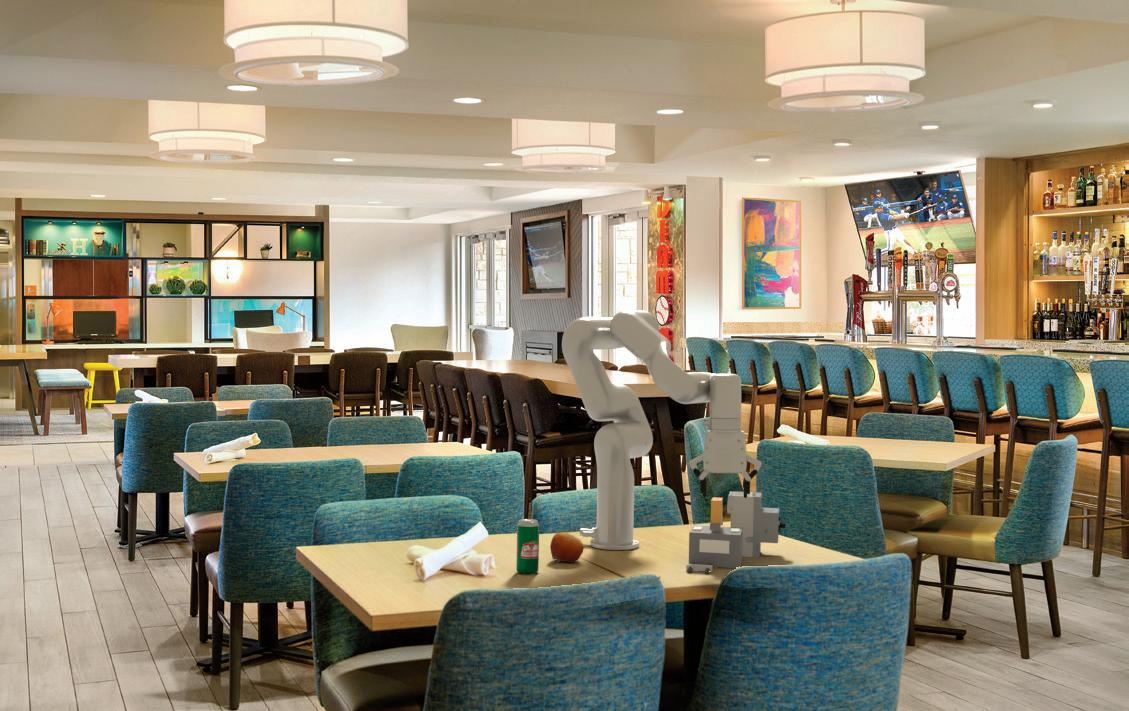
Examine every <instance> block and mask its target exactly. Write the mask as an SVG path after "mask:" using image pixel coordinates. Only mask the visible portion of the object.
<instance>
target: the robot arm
mask: <svg viewBox="0 0 1129 711" xmlns="http://www.w3.org/2000/svg"><path fill="white" fill-rule="evenodd" d="M671 343H672V342H671V341H670V340H669V339H668V338H667V337H665V336H664V335H663V334H662V333H660V323H659V321H658V318H656V316H655V315H654V314H653V313H651V312H649V311H646V310H633V309H631V310H630V309H629V310H628V309H626V310H622V311H619V312H616V314H615V315H614V316H612V317H611V316H610V317H605V316H604V317H603V316H601V317H597V316H585V317H583V316H582V317H578V318H576V319H574V320H572V321H571V322H570V323H569V324H567V326H566V328H565V329H564V332H563V334H562V339H561V351H562V354H563V357H564V361H565V363H566V365H567V366H568V370H570V373H571V375H572V377H573V379H574V382H575V385H576V388H577V390H578V393H579V395H580V399H581V400H582V403H583V405H584V408H585V411H586V413H587V414H588V416H589V418H590V419H592V420H593V421H595V422H609V421H612V422H613V423H608V424H605V425H603V426H602V427H601V428H599V430H598V431H596V433H595V437H594V439H593V440H594V442H593V446H594V454H595V461H596V472H597V473H596V475H597V476H596V477H597V478H596V487H597V488H596V526H595V527H592V528H580V529H579V536H581V537H583V538H585V537H586V538H589V537H590V538H591V540H590V541H589V545H590V546H591V547H593V548H595V549H600V550H609V551H610V550H611V551H626V550H628V551H629V550H635V549H638V548H639V547H640V541H639V540H637V539H634V523H635V522H634V511H635V473H634V469H633V466H632V463H631V459H635V458H640V457H644V456H645V455H647V454H649V452H650V451H651V449H652V446H653V444H654V442H653V441H654V436H653V431H652V429H651V425H650V424H649V421H648V418H647V417H646V416H647V415H646V414H645V411H644V409H643V406H642V405H641V402H640V399H639V397H638V396H637V394H636V392H635V391H634V390H633V389H632V388H631V387H630V386H628V385H626V384H622V383H612V381H611V380H610V377H609V376H608V373H607V370H606V368H605V366H604V365H603V362H602V361H601V360H600V358H598V357H597V354H595V352H594V350H615V349H622V348H626V350H627V351H628V352H630V353H631V354H632V355H633V356H634V357H635V358H637V359H638V360H639V361H640V362H641V363H643V364H644V365H645V367H646V369H647V371H648V374H649V376H650V378H651V380H652V382H653V383H654V385H656V387H658V388H659V390H661V391H662V392H663V393H665V394H666V395H667V396H668V397H669V398H671V399H672V400H673V401H675V402H677V403H679V404H683V405H690V404H703V403H704V404H705V403H709V418H708V419H704V420H703V426H704V427H705V426H706V427H708V428H709V430H705V431H706V432H705V435H704V436H705V437H704V444H703V445H704V446H703V453H702V454H701V455H698V456H696V457H695V458H693V459H691V460H689V461H688V464H689V467H690V468H691V470H692V472H693V473H694V475H696V477H697V478H698V479H699V481H700V493H701V494H702V497H707V495H708V478H707V476H708V474H740V475H741V476H742V477H743V478H744V480H743V492H744V498H747V494H750V492H751V480H752V479H753V478H754V477H755V476H756V475H757V474H758V473H759V471H760V469H761V467H762V465H763V463H762V461H760V460H758V459H757V458H754V457H752V456H750V455H748V453H747V442H746V441H747V440H746V435H745V431H744V430H742V377H740V375H738V374H736V373H711V372H707V371H706V372H705V371H699V372H698V371H697V372H695V371H694V372H690V371H689V372H686V371H685V370H683V369H682V368H681V367H679V366H678V365H677V364H676V363H675V362H674V361H673V360H672V359H671V358H670V356H669V355H670V353H671V350H672V344H671ZM702 461H703V471H701V470H700V469H699V468H698V466H697V464H698V463H700V462H702ZM748 463H750V464H752V465H754V467H753V469H752V471H750V472H748V470H747V466H748Z"/></svg>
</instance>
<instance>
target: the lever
mask: <svg viewBox="0 0 1129 711" xmlns="http://www.w3.org/2000/svg"><path fill="white" fill-rule="evenodd" d="M723 501H724V497H712V498H711V499H710V523H720V527H722V525H721V524H722V518H723V509H724V508H723V507H724V505H723V503H724V502H723Z"/></svg>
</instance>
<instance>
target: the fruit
mask: <svg viewBox="0 0 1129 711" xmlns="http://www.w3.org/2000/svg"><path fill="white" fill-rule="evenodd" d="M549 548H550V554H551V557H552V560H556V563H555V564H556V565H558V563H559V562H566V563H576V562H577V561H578V560H579V559H580V558H581V556H582V554H583V553H584V548H585V546H584V543H583V542H582V540H581V539H579V538H578V537H576V536H575V535H572V534H571V533H569V532H559V531H558V532H557V533H555V534H554V535H553V536H552V538H551V540H550V547H549Z"/></svg>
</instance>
